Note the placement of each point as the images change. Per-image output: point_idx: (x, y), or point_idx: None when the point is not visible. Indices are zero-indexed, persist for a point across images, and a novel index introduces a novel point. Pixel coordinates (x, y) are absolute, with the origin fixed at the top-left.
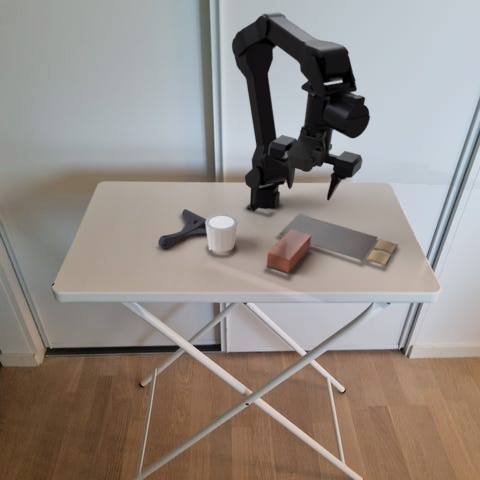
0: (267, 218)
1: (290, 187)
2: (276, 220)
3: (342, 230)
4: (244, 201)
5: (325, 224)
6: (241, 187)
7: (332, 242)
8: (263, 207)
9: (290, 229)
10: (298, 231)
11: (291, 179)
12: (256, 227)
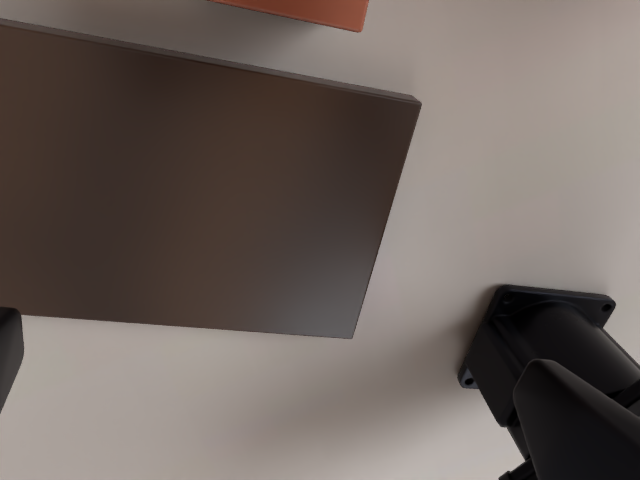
0: (501, 261)
1: (536, 376)
2: (454, 262)
3: (72, 285)
4: None
5: (188, 303)
6: None
7: (66, 136)
8: (544, 315)
9: (362, 20)
10: (289, 14)
11: (591, 470)
12: (553, 157)
